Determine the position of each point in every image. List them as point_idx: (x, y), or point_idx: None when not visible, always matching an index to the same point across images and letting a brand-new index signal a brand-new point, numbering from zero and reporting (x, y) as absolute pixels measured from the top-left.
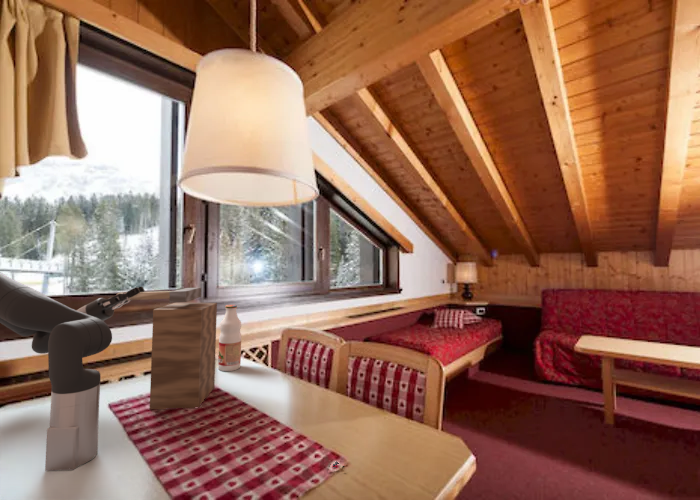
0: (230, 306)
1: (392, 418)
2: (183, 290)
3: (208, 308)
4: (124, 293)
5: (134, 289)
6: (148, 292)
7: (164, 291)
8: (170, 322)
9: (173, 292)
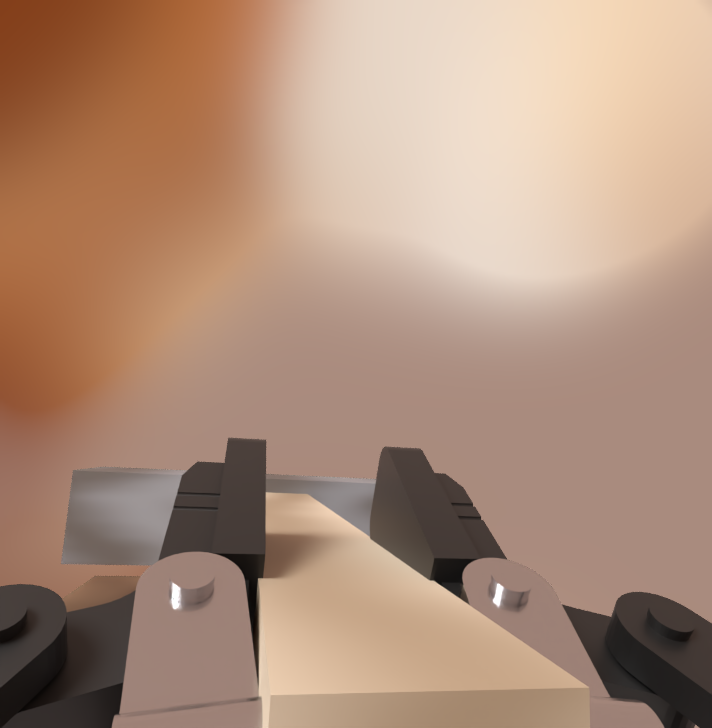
0: None
1: None
2: (360, 480)
3: None
4: (535, 596)
5: (451, 485)
6: (349, 524)
7: (269, 503)
8: None
9: None
